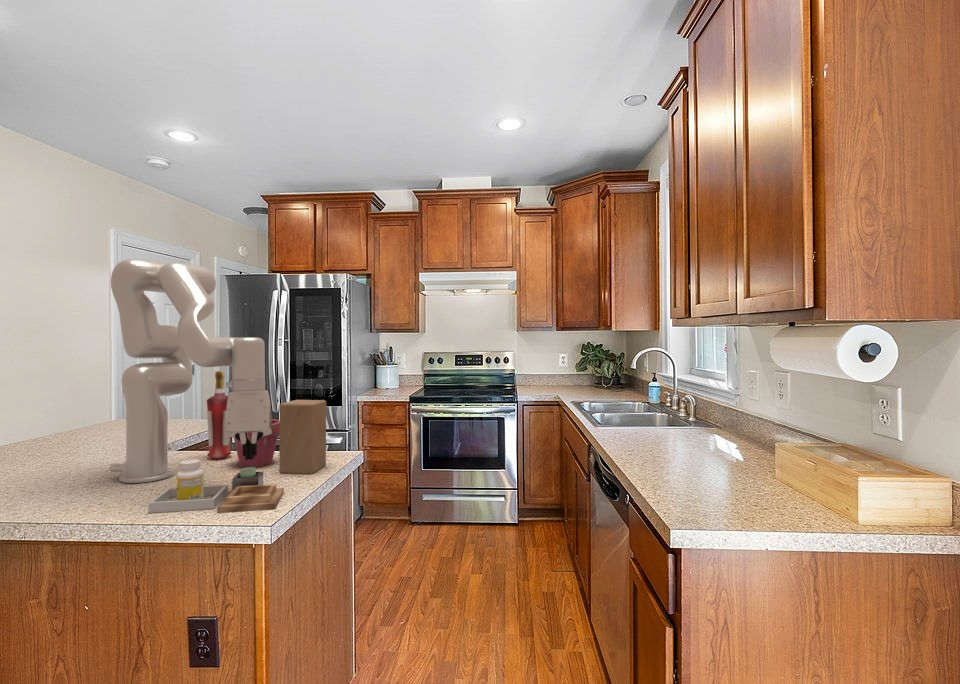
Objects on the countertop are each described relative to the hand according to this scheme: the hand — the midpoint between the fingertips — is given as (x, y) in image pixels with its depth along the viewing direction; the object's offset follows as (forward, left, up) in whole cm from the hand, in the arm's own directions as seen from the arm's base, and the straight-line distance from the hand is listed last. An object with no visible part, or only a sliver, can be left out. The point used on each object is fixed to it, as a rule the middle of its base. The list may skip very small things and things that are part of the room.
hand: (250, 458), depth 125 cm
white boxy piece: (0, 0, -8) cm, 8 cm away
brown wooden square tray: (+3, -9, -8) cm, 13 cm away
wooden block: (+11, +19, -9) cm, 24 cm away
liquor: (-17, +39, -8) cm, 44 cm away
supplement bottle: (-11, -7, -9) cm, 16 cm away
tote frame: (-11, -7, -8) cm, 16 cm away
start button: (0, 0, -5) cm, 5 cm away
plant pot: (-4, +29, -9) cm, 31 cm away
